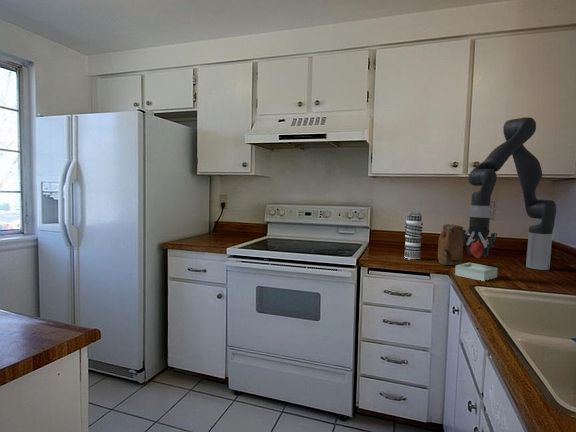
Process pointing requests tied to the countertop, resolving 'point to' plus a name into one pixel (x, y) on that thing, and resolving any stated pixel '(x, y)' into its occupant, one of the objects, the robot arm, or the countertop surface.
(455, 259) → the block
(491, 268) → the stand
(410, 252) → the white grey cylinder
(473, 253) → the onion
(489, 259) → the countertop surface
